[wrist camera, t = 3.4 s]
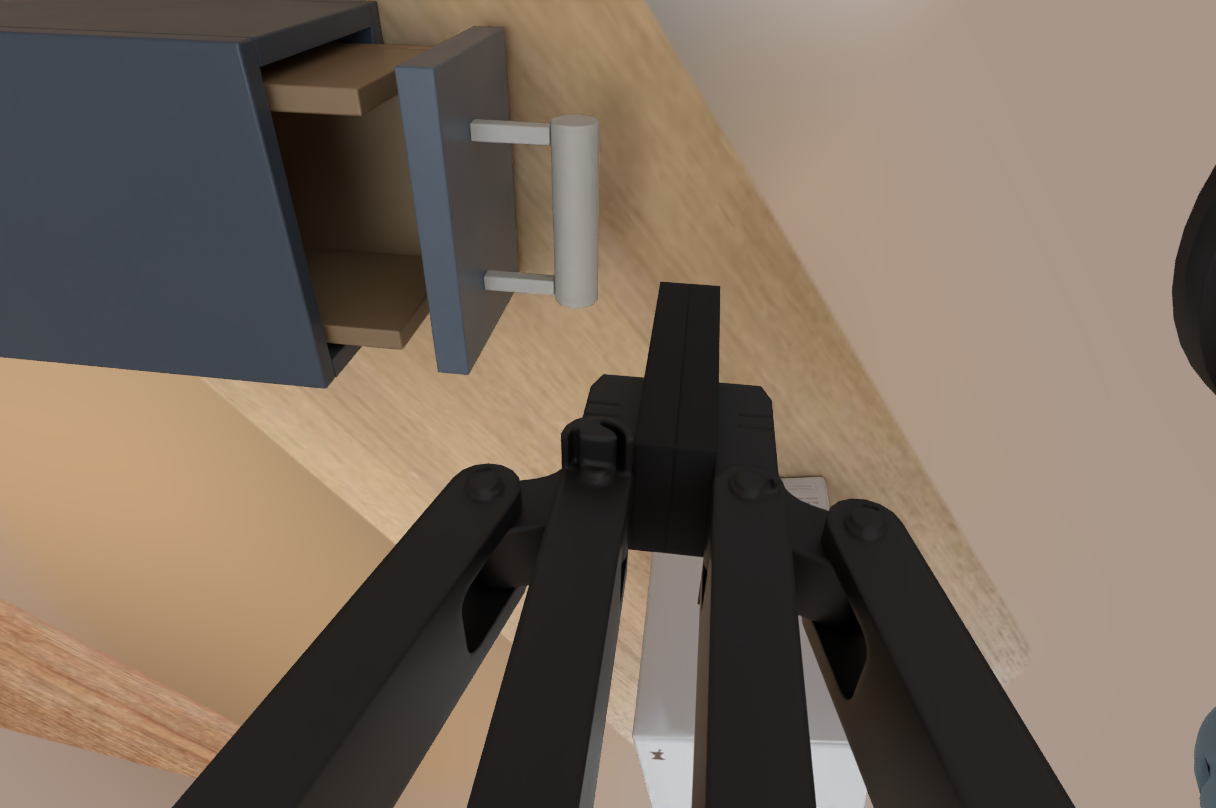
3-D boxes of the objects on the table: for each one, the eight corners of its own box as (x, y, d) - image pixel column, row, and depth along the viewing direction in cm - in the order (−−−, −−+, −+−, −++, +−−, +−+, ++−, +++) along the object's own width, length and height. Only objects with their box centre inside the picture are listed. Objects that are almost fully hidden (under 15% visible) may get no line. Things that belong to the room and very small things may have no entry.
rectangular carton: (675, 589, 44) (653, 850, 32) (657, 478, 39) (623, 737, 27) (828, 589, 42) (866, 866, 30) (829, 473, 38) (875, 748, 25)
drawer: (619, 31, 26) (583, 74, 20) (613, 290, 32) (584, 386, 26) (191, 14, 28) (33, 49, 22) (261, 262, 34) (154, 346, 28)
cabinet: (377, 0, 28) (237, 41, 20) (418, 277, 34) (326, 389, 27) (54, -12, 29) (-193, 22, 21) (155, 257, 36) (-6, 357, 28)
